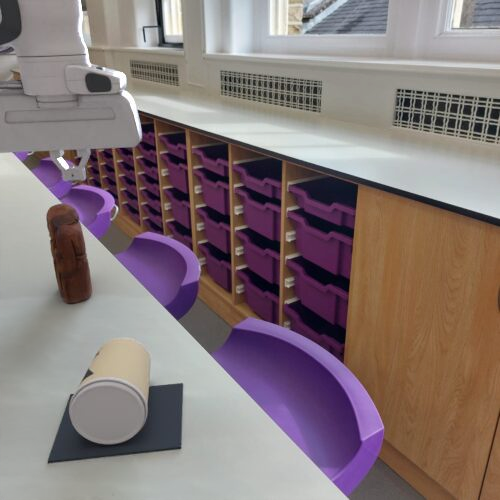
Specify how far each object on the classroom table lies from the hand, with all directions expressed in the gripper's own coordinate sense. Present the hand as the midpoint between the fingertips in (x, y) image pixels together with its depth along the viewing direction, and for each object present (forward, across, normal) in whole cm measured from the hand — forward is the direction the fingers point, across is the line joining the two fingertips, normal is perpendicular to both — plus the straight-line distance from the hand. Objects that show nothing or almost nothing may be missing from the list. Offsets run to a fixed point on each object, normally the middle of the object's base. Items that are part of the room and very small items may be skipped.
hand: (75, 180), depth 70 cm
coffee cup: (+24, +6, -11) cm, 27 cm away
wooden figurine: (+28, -9, +19) cm, 35 cm away
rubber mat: (+28, +6, -19) cm, 34 cm away
